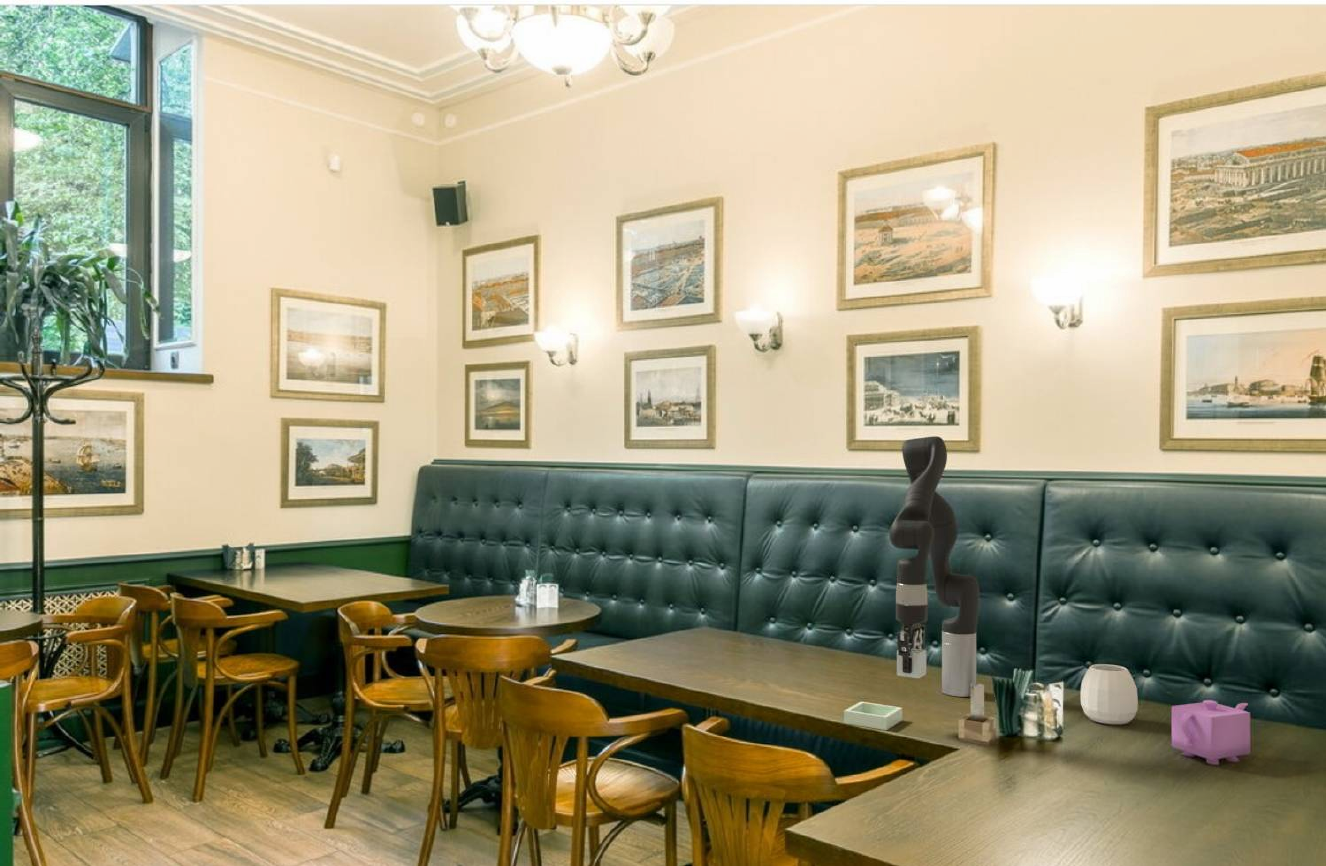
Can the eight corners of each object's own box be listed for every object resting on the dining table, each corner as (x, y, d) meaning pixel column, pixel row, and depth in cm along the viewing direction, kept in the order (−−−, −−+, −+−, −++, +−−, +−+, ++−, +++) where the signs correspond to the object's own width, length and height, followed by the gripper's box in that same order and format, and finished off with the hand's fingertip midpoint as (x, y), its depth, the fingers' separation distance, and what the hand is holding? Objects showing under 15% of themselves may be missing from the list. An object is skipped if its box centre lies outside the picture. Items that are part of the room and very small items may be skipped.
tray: (860, 713, 257) (861, 701, 257) (902, 720, 251) (902, 707, 251) (844, 723, 248) (844, 710, 248) (886, 730, 242) (886, 717, 242)
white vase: (1137, 717, 255) (1137, 665, 255) (1138, 730, 243) (1138, 675, 243) (1081, 711, 260) (1081, 660, 260) (1079, 724, 248) (1079, 670, 248)
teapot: (1202, 768, 214) (1202, 709, 214) (1163, 754, 224) (1163, 698, 224) (1268, 758, 222) (1268, 701, 222) (1227, 745, 231) (1227, 691, 231)
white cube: (904, 671, 249) (904, 646, 249) (926, 674, 246) (926, 649, 246) (896, 675, 244) (896, 650, 244) (918, 678, 241) (918, 653, 241)
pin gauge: (972, 733, 237) (972, 682, 237) (985, 735, 235) (985, 684, 236) (969, 736, 234) (969, 685, 235) (982, 738, 233) (981, 686, 233)
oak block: (967, 734, 239) (967, 713, 239) (995, 739, 236) (995, 717, 236) (958, 741, 234) (958, 719, 234) (988, 746, 230) (988, 724, 230)
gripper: (906, 596, 253) (906, 663, 253) (886, 603, 241) (886, 673, 241) (935, 599, 249) (935, 667, 249) (916, 606, 237) (916, 678, 237)
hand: (911, 670), depth 245 cm, fingers closed on white cube, 5 cm apart
